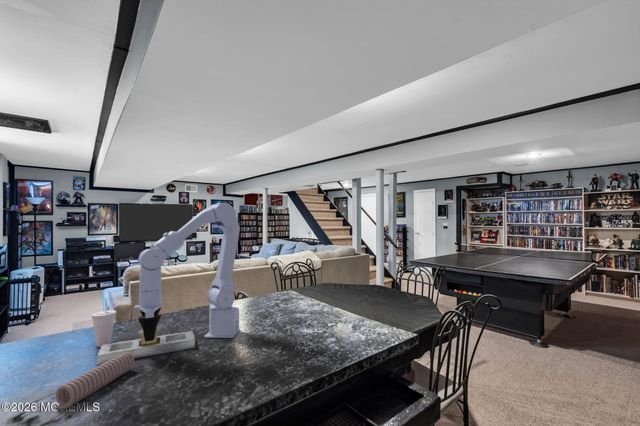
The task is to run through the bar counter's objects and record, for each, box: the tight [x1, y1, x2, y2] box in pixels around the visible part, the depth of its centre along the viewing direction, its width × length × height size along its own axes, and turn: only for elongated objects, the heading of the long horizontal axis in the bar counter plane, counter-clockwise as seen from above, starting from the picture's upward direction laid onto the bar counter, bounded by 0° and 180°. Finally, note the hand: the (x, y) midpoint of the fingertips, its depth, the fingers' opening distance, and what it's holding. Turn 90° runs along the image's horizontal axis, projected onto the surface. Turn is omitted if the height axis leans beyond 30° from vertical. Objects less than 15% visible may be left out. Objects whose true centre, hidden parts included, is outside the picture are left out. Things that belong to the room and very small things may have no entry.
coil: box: [55, 352, 135, 410], centre depth 70 cm, size 5×5×18 cm
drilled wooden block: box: [137, 326, 161, 346], centre depth 90 cm, size 6×4×6 cm
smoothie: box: [90, 297, 117, 348], centre depth 95 cm, size 6×6×14 cm
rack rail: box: [96, 330, 196, 366], centre depth 90 cm, size 24×8×2 cm, turn 118°
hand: (149, 336), depth 90 cm, fingers open, 7 cm apart
